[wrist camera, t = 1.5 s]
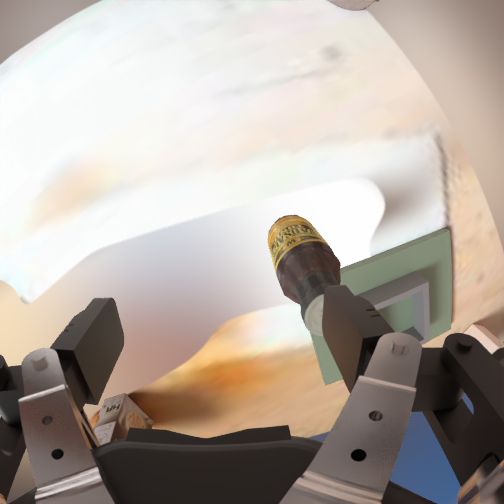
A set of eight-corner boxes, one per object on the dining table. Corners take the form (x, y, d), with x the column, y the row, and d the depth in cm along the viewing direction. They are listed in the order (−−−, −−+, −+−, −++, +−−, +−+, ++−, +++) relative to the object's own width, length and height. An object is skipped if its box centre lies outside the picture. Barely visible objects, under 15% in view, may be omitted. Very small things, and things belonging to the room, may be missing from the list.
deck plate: (444, 227, 41) (465, 237, 36) (446, 325, 48) (462, 340, 43) (295, 284, 42) (304, 302, 37) (323, 379, 49) (331, 401, 44)
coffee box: (102, 399, 48) (78, 462, 33) (125, 392, 48) (103, 460, 32) (132, 427, 51) (116, 489, 36) (155, 421, 50) (142, 487, 35)
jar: (478, 348, 52) (507, 378, 40) (452, 362, 52) (481, 395, 40) (484, 316, 49) (518, 345, 37) (458, 330, 49) (492, 363, 38)
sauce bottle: (298, 203, 39) (358, 254, 20) (320, 242, 41) (386, 317, 22) (255, 230, 40) (277, 303, 21) (279, 267, 42) (315, 359, 23)
